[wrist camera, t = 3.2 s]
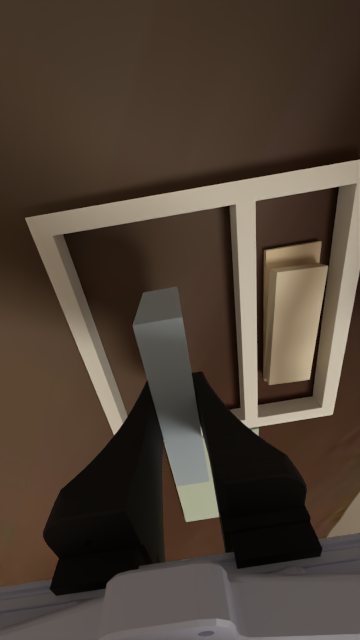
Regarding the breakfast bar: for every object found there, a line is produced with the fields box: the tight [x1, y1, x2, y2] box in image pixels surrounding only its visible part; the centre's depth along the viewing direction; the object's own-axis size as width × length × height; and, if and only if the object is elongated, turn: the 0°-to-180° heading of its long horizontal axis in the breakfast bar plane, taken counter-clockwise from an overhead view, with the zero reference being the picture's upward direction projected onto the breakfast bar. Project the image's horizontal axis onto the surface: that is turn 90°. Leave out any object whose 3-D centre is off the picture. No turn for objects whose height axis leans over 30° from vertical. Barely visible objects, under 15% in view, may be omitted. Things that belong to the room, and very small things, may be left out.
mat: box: [164, 427, 259, 522], centre depth 27 cm, size 10×16×1 cm, turn 9°
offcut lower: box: [263, 241, 322, 381], centre depth 19 cm, size 4×12×1 cm, turn 9°
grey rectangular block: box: [132, 287, 209, 486], centre depth 13 cm, size 2×11×4 cm, turn 9°
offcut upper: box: [264, 263, 328, 385], centre depth 18 cm, size 4×10×1 cm, turn 6°
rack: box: [25, 160, 360, 442], centre depth 18 cm, size 21×21×2 cm
